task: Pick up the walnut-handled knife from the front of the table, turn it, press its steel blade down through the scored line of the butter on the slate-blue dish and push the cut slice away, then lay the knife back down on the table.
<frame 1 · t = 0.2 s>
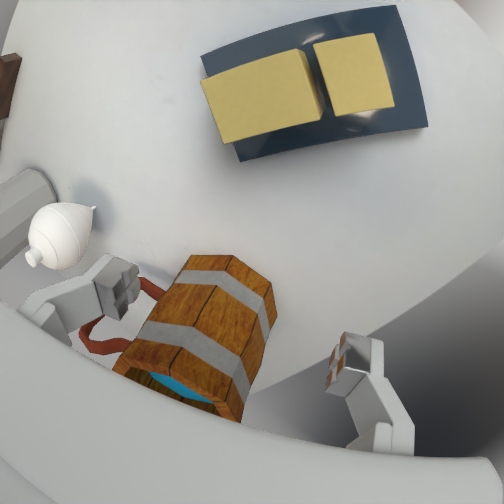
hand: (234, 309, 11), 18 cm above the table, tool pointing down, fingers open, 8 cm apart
spinning top: (96, 205, 35), on the table
mug: (202, 288, 38), on the table
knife: (4, 113, 30), on the table
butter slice: (352, 73, 19), point 1 cm above the table, touching butter dish
butter block: (271, 92, 21), point 1 cm above the table, touching butter dish
butter dish: (315, 80, 21), on the table
jar: (42, 194, 37), on the table
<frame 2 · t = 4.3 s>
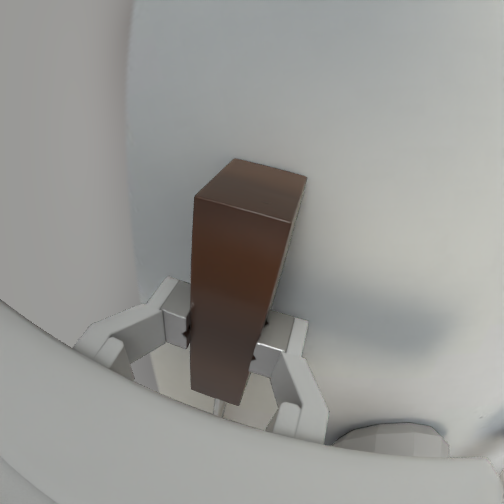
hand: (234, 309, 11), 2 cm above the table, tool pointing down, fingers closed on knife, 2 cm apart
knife: (233, 350, 15), on the table, touching gripper
jar: (388, 440, 18), on the table
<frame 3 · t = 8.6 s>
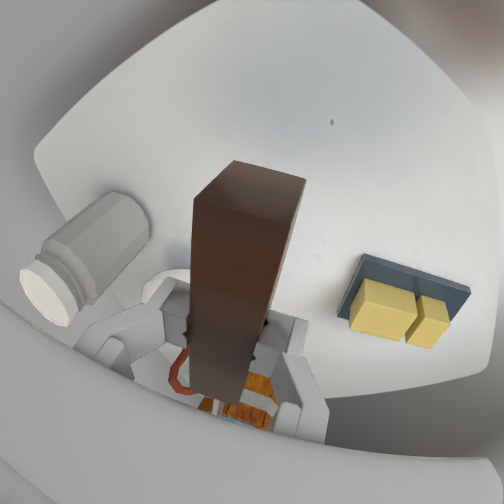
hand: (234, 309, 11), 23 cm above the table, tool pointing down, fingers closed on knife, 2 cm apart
spinning top: (193, 266, 43), on the table
mug: (247, 345, 50), on the table
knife: (232, 351, 15), point 21 cm above the table, touching gripper
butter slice: (424, 311, 35), point 1 cm above the table, touching butter dish
butter block: (382, 299, 36), point 1 cm above the table, touching butter dish
butter dish: (404, 299, 36), on the table
jar: (126, 218, 42), on the table
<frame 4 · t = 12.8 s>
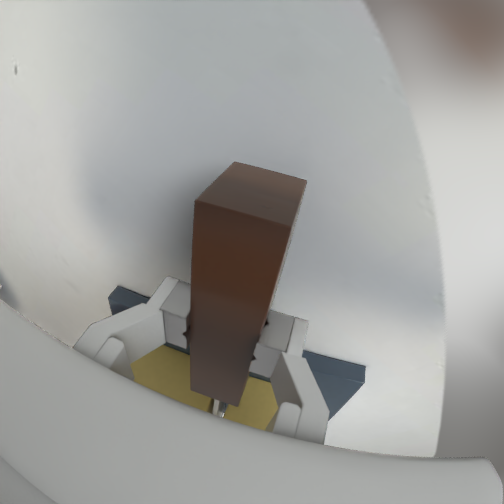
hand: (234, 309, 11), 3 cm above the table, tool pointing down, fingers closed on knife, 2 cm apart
spinning top: (2, 284, 27), on the table
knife: (233, 352, 15), point 2 cm above the table, touching gripper
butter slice: (264, 398, 19), point 1 cm above the table, touching butter dish
butter block: (174, 367, 20), point 1 cm above the table, touching butter dish
butter dish: (227, 371, 20), on the table
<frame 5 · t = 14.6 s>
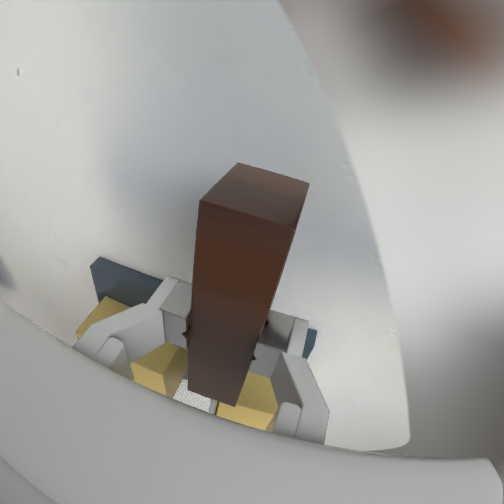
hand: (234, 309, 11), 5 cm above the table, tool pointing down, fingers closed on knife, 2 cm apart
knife: (230, 352, 15), point 4 cm above the table, touching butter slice, gripper
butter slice: (259, 375, 21), point 1 cm above the table, touching butter dish, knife
butter block: (147, 333, 22), point 1 cm above the table, touching butter dish
butter dish: (194, 338, 22), on the table
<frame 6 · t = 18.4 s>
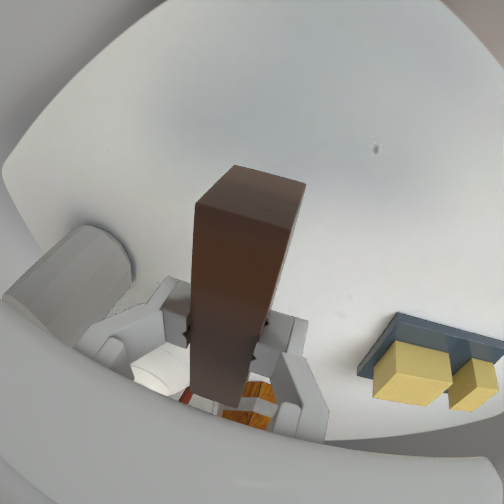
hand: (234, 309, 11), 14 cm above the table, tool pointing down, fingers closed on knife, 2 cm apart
spinning top: (186, 314, 35), on the table
mug: (250, 393, 42), on the table
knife: (232, 354, 15), point 12 cm above the table, touching gripper
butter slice: (470, 372, 27), point 1 cm above the table, touching butter dish
butter block: (411, 360, 28), point 1 cm above the table, touching butter dish
butter dish: (435, 357, 28), on the table
jar: (105, 254, 34), on the table
when the fingers open (1 cm above the table, at t = 21.3 s): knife stays where it is, on the table.
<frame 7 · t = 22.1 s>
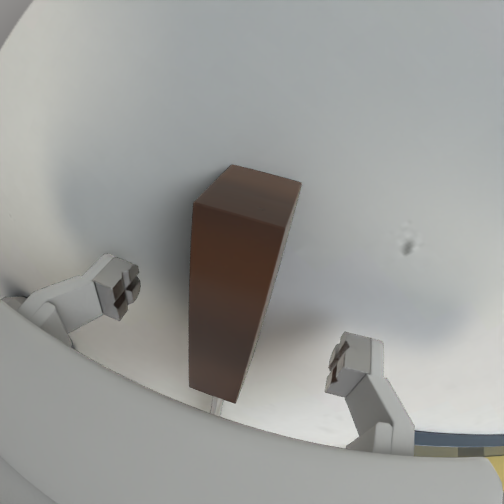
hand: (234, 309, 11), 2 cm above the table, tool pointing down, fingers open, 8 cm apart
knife: (231, 349, 16), on the table
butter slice: (479, 464, 17), point 1 cm above the table, touching butter dish
butter dish: (441, 455, 19), on the table
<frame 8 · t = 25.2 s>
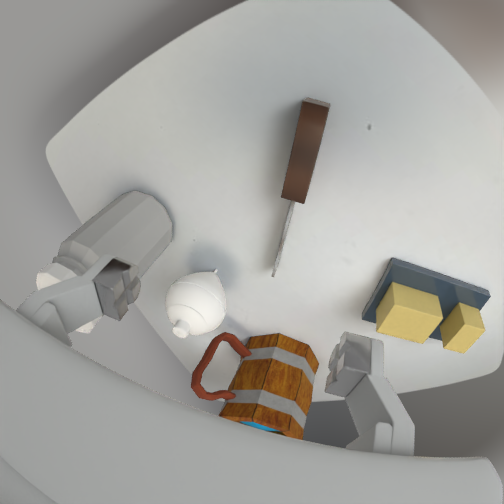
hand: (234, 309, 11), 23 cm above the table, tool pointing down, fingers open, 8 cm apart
spinning top: (217, 268, 43), on the table
mug: (267, 348, 50), on the table
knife: (296, 189, 32), on the table
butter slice: (459, 317, 34), point 1 cm above the table, touching butter dish
butter block: (407, 302, 35), point 1 cm above the table, touching butter dish
butter dish: (427, 302, 36), on the table
jar: (147, 218, 41), on the table
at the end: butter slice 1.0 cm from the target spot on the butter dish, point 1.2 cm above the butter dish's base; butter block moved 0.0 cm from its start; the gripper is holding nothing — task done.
